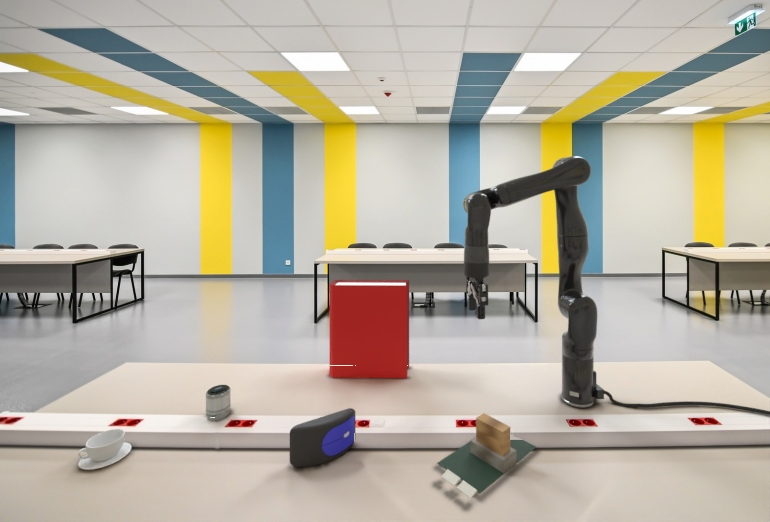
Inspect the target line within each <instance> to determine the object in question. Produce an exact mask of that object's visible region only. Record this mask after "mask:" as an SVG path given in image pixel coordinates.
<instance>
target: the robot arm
mask: <svg viewBox="0 0 770 522" xmlns="http://www.w3.org/2000/svg"><path fill="white" fill-rule="evenodd" d="M591 175H592V167H591V165H590V162H589V161H588V160H587V159H585V158H584V157H581V156H577V155H574V156H573V155H572V156H566V157H565V156H564V157H561V158H559V159H557V160H556V161H555V162H554V163H553V166H552V167H551V168H549V169H546V170H544V171H541V172H537V173H533V174H529V175H524V176H521V177H517V178H514V179H511V180H508V181H505V182H501V183H499V184H497V185H495V186H492V187H488V188H483V189H479V190H477V191H476V190H475V191H473V192H471V193H469V194H467V195H465V197H464V198H463V201H462V207H463V210H464V211H465V213H467V224H466V226H465V229H464V249H463V275H464V276H465V294H466V295H467V298H468V310H469V311H476V318H477V319H478V320H485V319H486V306H489V285H488V283H485V280H484V279H485V278H487V277H488V278H489V276H490V247H489V228H490V222H491V215H492V210H495V209H498V208H506V207H509V206H512V205H515V204H518V203H520V202H521V203H522V202H523V201H526V200H529V199H532V198H534V197H536V196H539V195H542V194H545V193H548V192H552V191H554V200H555V216H556V217H555V218H556V244H557V245H556V246H557V261H558V293H557V307H558V310H559V312H560V315H562V316H563V317H564V318H566V320H568V321H567V331H564V332H563V333H562V335H561V400H562V401H563V402H564V403H565V404H567V405H569V406H571V407H573V408H578V409H586V408H591V407H592V406H593V405H594V404H597V400H599V401H600V400H605V395H606V396H607V397H608V398H609V401H610V402H611V404H613V405H617V406H620V407H624V408H645V409H647V408H648V409H651V408H660V407H677V406H678V407H679V406H702V407H703V406H707V407H716V408H717V407H718V408H726V409H734V410H741V411H745V412H746V411H747V412H752V413H758V414H762V415H768V416H770V410H765V409H761V408H755V407H750V406H744V405H737V404H730V403H723V402H714V401H713V402H712V401H688V400H687V401H667V402H657V403H656V402H655V403H624V402H620V401H618V400H615V399H614V397H613V396H612V393H610V392H608V391H607V390H605V389H604V388H602V387H601V386H600V385H599V384H597V372H596V370H594V367H595V366H594V364H595V363H594V362H595V361H594V355H595V354H594V349H595V348H594V343H595V340H596V339H597V334H598V333H597V331H598V307H597V304H596V302H595V299H593V298H591V296H588V295H587V294H585V293H584V292H583V286H582V285H583V284H582V283H583V282H582V273H583V268H584V266H585V263H586V261H587V258H588V256H589V250H590V249H589V248H590V247H589V246H590V245H589V230H588V224H587V221H586V219H585V217H584V214H583V212H582V209H581V207H580V204H579V197H578V196H579V195H578V193H579V192H578V187H580V186H582V185H584V184H585V183H587V181H588V180H589V179H590V177H591Z"/></svg>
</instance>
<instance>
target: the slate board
mask: <svg viewBox="0 0 770 522" xmlns="http://www.w3.org/2000/svg"><path fill="white" fill-rule="evenodd" d="M510 447H511V448H513V449H515V450H516V464H514V465H513V466H512V467H511V468H510V469H508V470H507V471H506V472H505V473H502V472H501V471H499V470H497V469H496V468H494V467H493V466H491V465H490V464H488V463H486V462H485V461H483V460H482V459H480V458H478V457H477V456H475V455H474V454H472V453H471V452H470V441H468V442H466V443H465V444H464V445H462V446H460V447H459V448H458V449H456V450H455V451H453V452H452V453H450V454H449V455H447V456H445V457H444V458H442V459H441V460H440V461H438V462H437V463H436V464H437V465H438V466H440V467H441V468H443V469H444V470H445V471H446V470H447V469H448V470H450V471H451V472H453V473H454V474H455V475H457V476H458V477H460V478H461V481H460V482H462V481H463V480H464V481H465V482H467V483H468V484H469V485H471V486H472V487H474V488H475V489H476V490H477V494H479V495H481V494H482V492H484V491H486V489H488V488H489V487H490V486H491V485H492V484H494V483H495V482H496V481H497V480H499V479H500V478H501V477H503V476H504V475H505V474H506V473H507V472H508V471H510V470H511V469H512V468H513V467H514V466H515V465H517V464H518V463H519V462H520V461H522V460H523V459H524V458H525V457H526V456H528V455H529V454H530V453H532V451H534V450H535V449H536V448H537V446H536V445H534V444H532V443H530V442H528V441H526V440H524V439H523V440H510Z"/></svg>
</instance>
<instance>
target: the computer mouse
mask: <svg viewBox="0 0 770 522" xmlns="http://www.w3.org/2000/svg"><path fill="white" fill-rule="evenodd" d="M354 433H355V434H356V410H355V409H354V408H351V407H350V408H346V409H342V410H339V411H336V412H333V413H329V414H326V415H324V416H323V415H322V416H320V417H317V418H315V419H311V420H308V421H305V422H302V423H299V424H296V425H294V426H293V427H292V428H290V430H289V463H290V465H291V466H293V467H295V468H308V467H309V468H310V467H315V466H318V465H322V464H325V463H328V462H330V461H333V460H335V459H337V458H339V457H340V456H342V455H344V454H345V453H347V452H348V451H349V450H350V449H351V448H352V447H353V446H354V444H355V442H354Z"/></svg>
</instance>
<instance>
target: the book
mask: <svg viewBox="0 0 770 522" xmlns="http://www.w3.org/2000/svg"><path fill="white" fill-rule="evenodd" d="M328 290H329V292H328V293H329V377H330V378H332V379H333V378H334V379H335V378H336V379H339V378H340V379H344V378H345V379H346V378H347V379H350V378H351V379H353V378H354V379H407V378H408V369H409V368H410V280H409V279H335V280H333V281H331V282H330V283H329V289H328ZM330 365H353V366H330ZM355 365H356V366H355ZM407 365H408V366H407Z"/></svg>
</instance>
